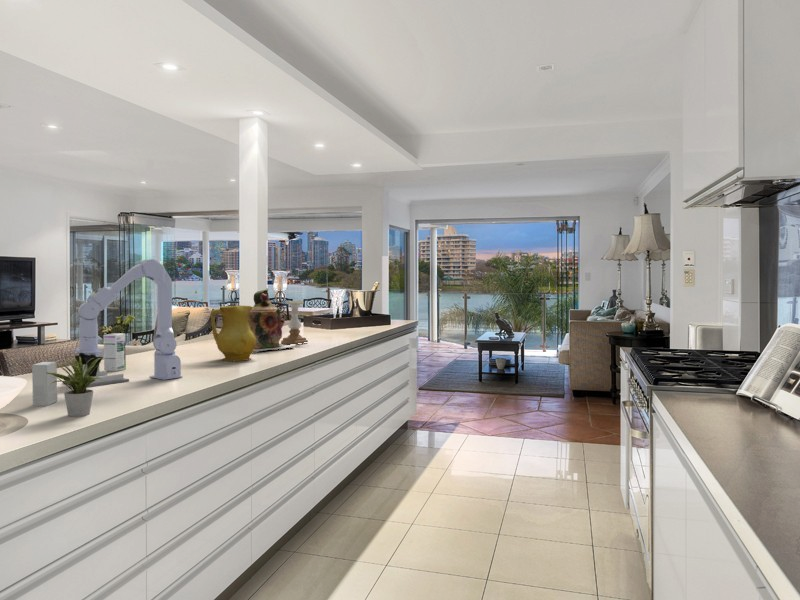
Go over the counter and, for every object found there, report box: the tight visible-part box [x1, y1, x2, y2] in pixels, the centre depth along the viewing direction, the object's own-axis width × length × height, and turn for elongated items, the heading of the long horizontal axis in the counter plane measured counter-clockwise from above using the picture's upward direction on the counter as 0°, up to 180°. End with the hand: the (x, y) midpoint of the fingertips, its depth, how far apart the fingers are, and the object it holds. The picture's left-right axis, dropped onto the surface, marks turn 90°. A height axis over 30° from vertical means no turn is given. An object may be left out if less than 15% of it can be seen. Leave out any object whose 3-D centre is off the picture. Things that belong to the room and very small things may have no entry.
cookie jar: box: [248, 287, 296, 353], centre depth 317 cm, size 25×25×32 cm
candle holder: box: [280, 300, 309, 345], centre depth 342 cm, size 11×11×24 cm
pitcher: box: [210, 305, 256, 362], centre depth 275 cm, size 17×19×25 cm
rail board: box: [63, 370, 130, 388], centre depth 212 cm, size 14×16×3 cm
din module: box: [83, 364, 100, 378], centre depth 210 cm, size 4×5×6 cm
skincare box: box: [31, 361, 58, 407], centre depth 176 cm, size 6×4×12 cm
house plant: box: [47, 356, 104, 418], centre depth 165 cm, size 14×14×16 cm
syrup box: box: [102, 332, 127, 372], centre depth 239 cm, size 6×6×14 cm
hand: (88, 375), depth 210 cm, fingers closed on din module, 4 cm apart
